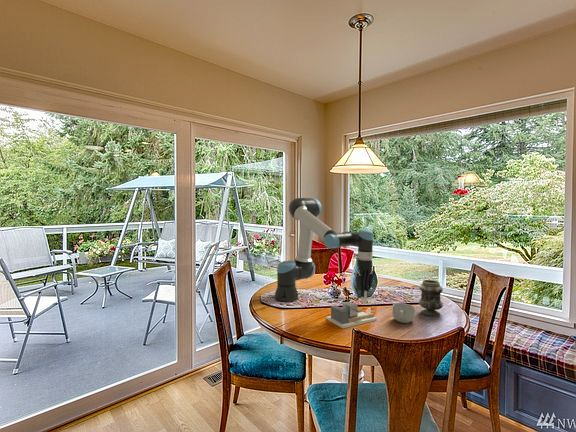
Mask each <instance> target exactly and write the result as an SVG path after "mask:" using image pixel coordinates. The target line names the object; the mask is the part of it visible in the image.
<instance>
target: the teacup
mask: <svg viewBox="0 0 576 432" xmlns="http://www.w3.org/2000/svg"><path fill="white" fill-rule="evenodd" d="M415 312H416V307H415V306H414V305H411V304H409V303H408V304H407V303H404V302H395V303H393V304H392V317H393V318H394V319H395V320H396V322H398V323H402V324H409V323H411V322H412V321H414V318H415Z"/></svg>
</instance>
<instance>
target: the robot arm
mask: <svg viewBox="0 0 576 432" xmlns="http://www.w3.org/2000/svg"><path fill="white" fill-rule="evenodd" d="M322 209H323V207H322V204H321V202H320V200H318V199H317V198H313V197H297V198H293V199H292V200H291V201H290V202H289V205H288V212H289V215H290V217H292V218H294V219H295V220H296V221H299V222H300V229H299V238H298V247H297V255H296V257H294V260H284V261H281V262H279V263H278V264H277V266H276V267H277V269H276V274H277V275H276V276H277V277H276V278H277V283H276V285H277V286H276V290H275V292H274V299H276V300H275V301H277V300H279V301H278V302H281V301H291V302H295V301H294V300H296V301H297V300H298V299H299V293H298V290H297V286H296V282H297V281H300V280H304V279H305V280H307V279H310V278H311V277H313V276H314V274H315V273H316V265H315V262H313V259H312V257H311V256H312V245H313V237H314V234H315V235H317V236H318V237H319V238H321V240H323V244H324V247H325V248H327V249H337V248H344V247H356V248H357V258H358V259H357V267H358V268H357V271H356V272H353V275H354V277H355V283H356V289H357V290H359V291H360V293H359V294H360V302H361V303H362V304H367V302H368V295H369V294H368V292H370V290H371V289H372V284H373V280H374V275H375V273H376V271H374V270H372V267H373V245H374V233H373V231H372V230H369V229H359V230H358V232H353V231H342V232H336V231H335V230H333V229H332V228H331V227H329V226H328V225H327V224H325V223H324V222H323V221H322V220H320V219H319V218H318V217H319V216H320V215H321V213H322Z"/></svg>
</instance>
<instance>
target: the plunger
mask: <svg viewBox="0 0 576 432" xmlns="http://www.w3.org/2000/svg"><path fill="white" fill-rule="evenodd" d="M342 309H344V310H346V311H348V319H350V318H354V317H358V312H359V313H360V311H358V309H359V307H358V304H357V303H354V302H352V301H346V302H342Z"/></svg>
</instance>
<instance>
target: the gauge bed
mask: <svg viewBox="0 0 576 432" xmlns="http://www.w3.org/2000/svg"><path fill="white" fill-rule="evenodd" d="M358 311H360V313H359V312H358V317H354V318H350V319H348V311H346V310H344V309H343V307H340V306H338V305H336V304H335V305H330V315H328V316H326V317H325V318H326V320H327V321H329V322H330V323H333V324H335V325H336V326H338V327H339V328H341V329H346V328H350V327H355V326H359V325H363V324H367V323H371V322H375V321H377V317H375V314H374V313H373V312H372V313H367V312H364V311H363V308H359V307H358Z"/></svg>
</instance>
